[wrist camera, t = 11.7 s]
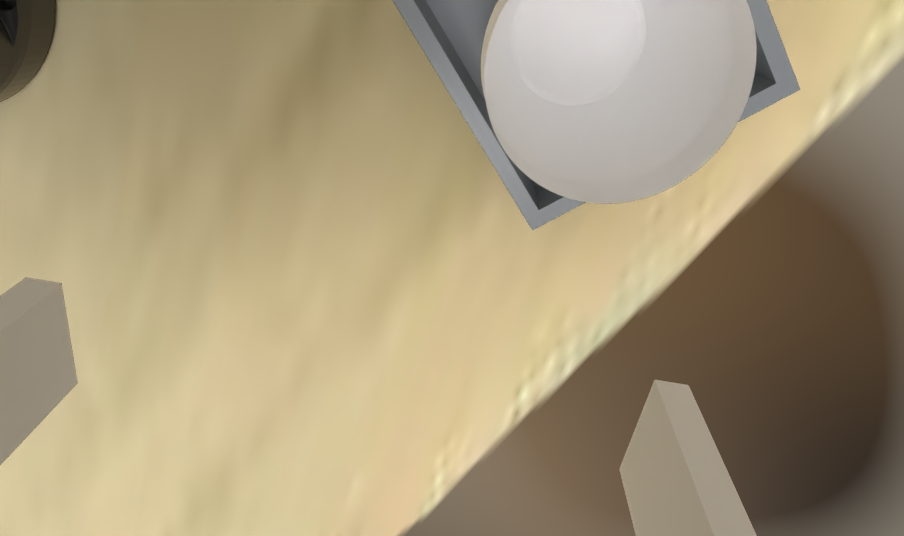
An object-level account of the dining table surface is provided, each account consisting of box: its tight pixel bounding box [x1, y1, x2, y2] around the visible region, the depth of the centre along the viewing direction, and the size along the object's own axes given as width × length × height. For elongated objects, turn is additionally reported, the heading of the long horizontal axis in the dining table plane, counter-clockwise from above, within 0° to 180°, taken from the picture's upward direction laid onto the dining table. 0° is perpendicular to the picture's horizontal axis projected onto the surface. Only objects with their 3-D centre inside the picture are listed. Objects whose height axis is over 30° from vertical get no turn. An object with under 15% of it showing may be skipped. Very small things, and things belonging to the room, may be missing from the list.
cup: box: [481, 0, 757, 204], centre depth 25 cm, size 9×9×12 cm
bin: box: [393, 0, 800, 230], centre depth 29 cm, size 14×14×4 cm
